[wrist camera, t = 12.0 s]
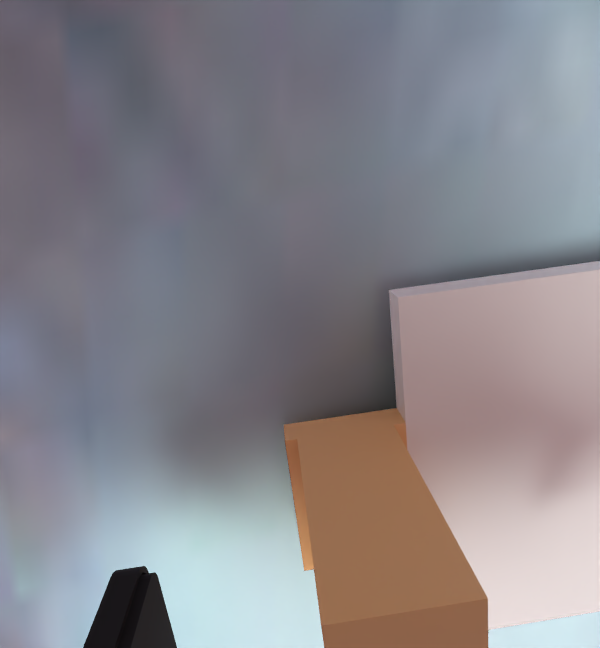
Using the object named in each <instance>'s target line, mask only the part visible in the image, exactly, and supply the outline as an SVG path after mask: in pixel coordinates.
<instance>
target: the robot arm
mask: <svg viewBox="0 0 600 648" xmlns="http://www.w3.org/2000/svg"><path fill="white" fill-rule="evenodd" d="M83 648H177V646H176V642H175V639H174V635H173V631H172V628H171V624H170V620H169V617H168V613H167V609H166V605H165V602H164V598H163V594H162V591H161V587H160V583H159V580H158V576H157V574H156V573H148V570H147V568H146V567H145V566H142V567H135V568H129V569H123V570H116V571H115V572H114V573H113V574H112V576H111V578H110V581H109V583H108V586H107V588H106V591H105V593H104V596H103V598H102V601H101V604H100V606H99V609H98V611H97V614H96V616H95V619H94V621H93V624H92V626H91V629H90V632H89V634H88V637H87V639H86V642H85V644H84V647H83Z"/></svg>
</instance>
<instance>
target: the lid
mask: <svg viewBox="0 0 600 648" xmlns="http://www.w3.org/2000/svg"><path fill="white" fill-rule="evenodd" d="M389 299H390V314H391V329H392V344H393V359H394V374H395V389H396V404H397V408H393V409H386V410H380V411H373V412H366V413H359V414H352V415H346V416H339V417H332V418H325V419H318V420H312V421H305V422H298V423H291V424H284V436H285V445H286V451H287V458H288V465H289V471H290V478H291V485H292V491H293V498H294V505H295V511H296V518H297V525H298V531H299V538H300V545H301V551H302V558H303V565H304V571H305V570H312V569H314V573H315V581H316V588H317V596H318V604H319V611H320V619H321V627H322V634H323V641H324V648H488V630H490V629H496V628H502V627H508V626H514V625H521V624H527V623H533V622H539V621H545V620H551V619H557V618H563V617H569V616H575V615H581V614H587V613H593V612H599V611H600V261H595V262H588V263H580V264H573V265H566V266H559V267H551V268H544V269H537V270H529V271H522V272H515V273H508V274H500V275H493V276H486V277H479V278H471V279H464V280H457V281H449V282H442V283H435V284H428V285H420V286H413V287H406V288H399V289H391V290H389Z"/></svg>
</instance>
